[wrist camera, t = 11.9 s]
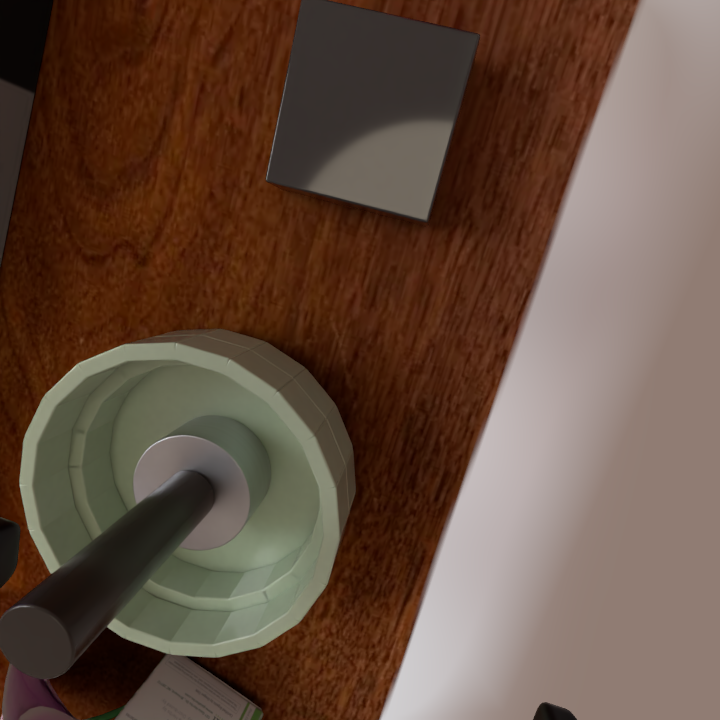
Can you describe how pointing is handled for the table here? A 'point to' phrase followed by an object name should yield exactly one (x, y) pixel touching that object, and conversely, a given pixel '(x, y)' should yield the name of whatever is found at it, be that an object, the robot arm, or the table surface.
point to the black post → (141, 540)
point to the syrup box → (186, 695)
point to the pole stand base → (370, 109)
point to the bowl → (153, 422)
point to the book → (17, 89)
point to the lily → (36, 700)
